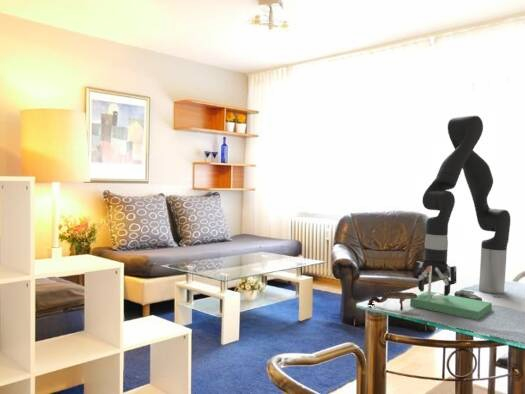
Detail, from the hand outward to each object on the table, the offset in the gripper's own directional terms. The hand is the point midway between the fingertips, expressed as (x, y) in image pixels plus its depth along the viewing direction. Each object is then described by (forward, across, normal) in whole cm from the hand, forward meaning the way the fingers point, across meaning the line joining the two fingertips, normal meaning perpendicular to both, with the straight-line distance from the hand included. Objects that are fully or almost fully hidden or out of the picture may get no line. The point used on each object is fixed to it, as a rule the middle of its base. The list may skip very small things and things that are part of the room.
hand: (433, 293), depth 164 cm
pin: (+1, -1, +8) cm, 8 cm away
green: (+4, -6, 0) cm, 7 cm away
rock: (+4, -7, -14) cm, 16 cm away
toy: (+4, +8, +16) cm, 18 cm away
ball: (+2, -2, 0) cm, 2 cm away
